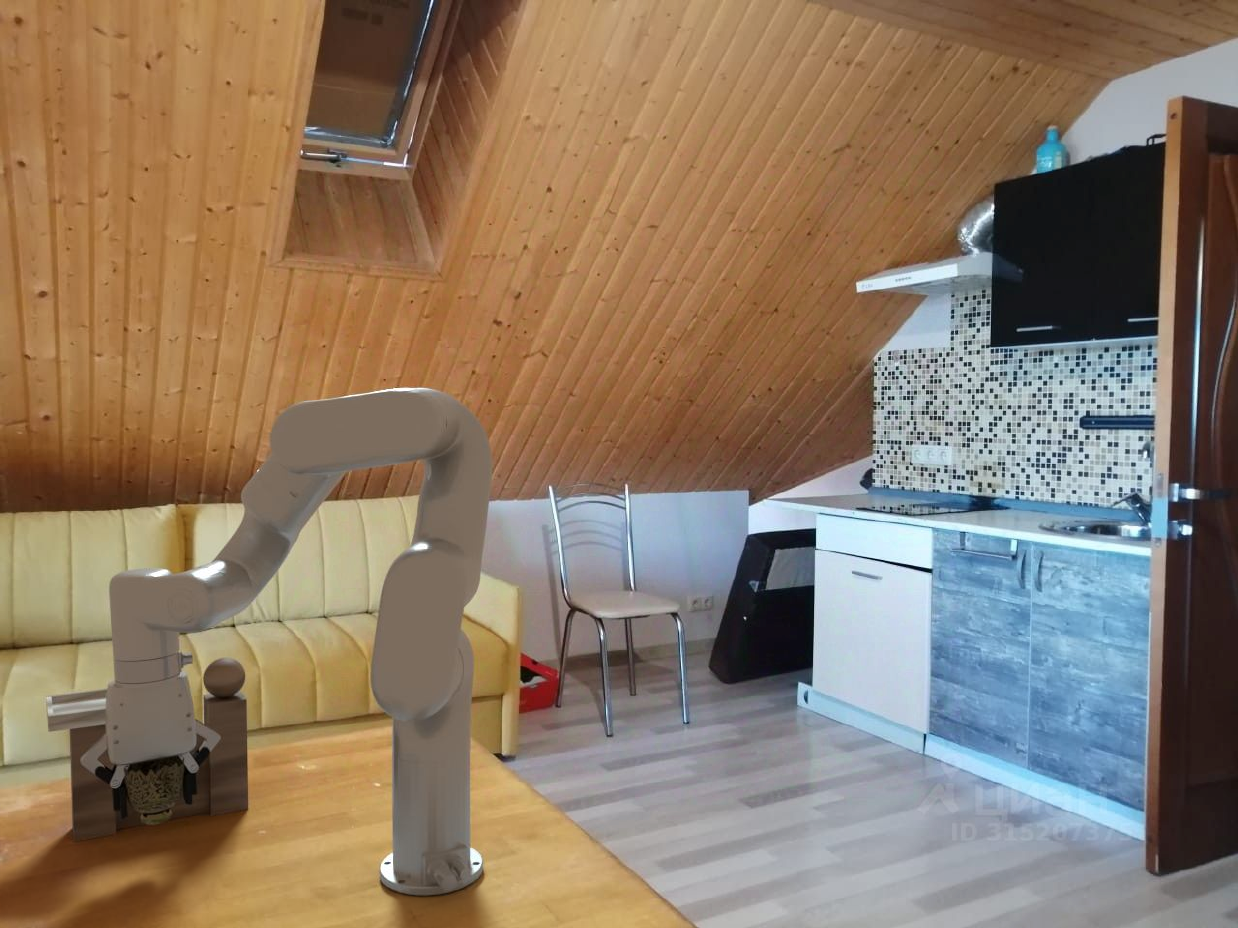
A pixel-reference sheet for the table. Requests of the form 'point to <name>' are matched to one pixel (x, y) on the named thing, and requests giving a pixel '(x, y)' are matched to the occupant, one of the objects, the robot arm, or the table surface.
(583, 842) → the table surface
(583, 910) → the table surface
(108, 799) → the headboard
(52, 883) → the table surface
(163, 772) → the cup
